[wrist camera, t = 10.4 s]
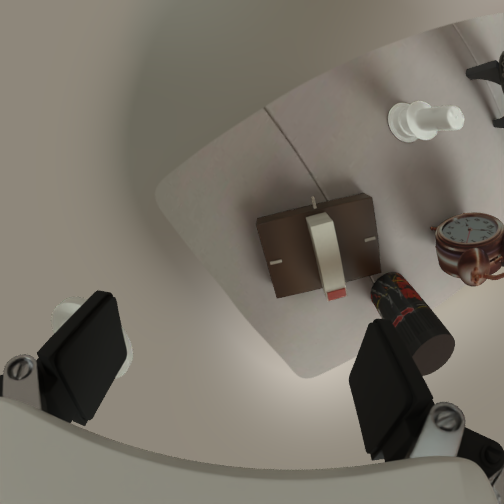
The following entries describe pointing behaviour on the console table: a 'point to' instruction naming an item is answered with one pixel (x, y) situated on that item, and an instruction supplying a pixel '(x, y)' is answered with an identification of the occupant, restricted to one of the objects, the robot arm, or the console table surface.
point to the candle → (423, 120)
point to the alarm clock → (471, 247)
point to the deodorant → (413, 322)
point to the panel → (301, 249)
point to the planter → (490, 78)
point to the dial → (327, 255)
